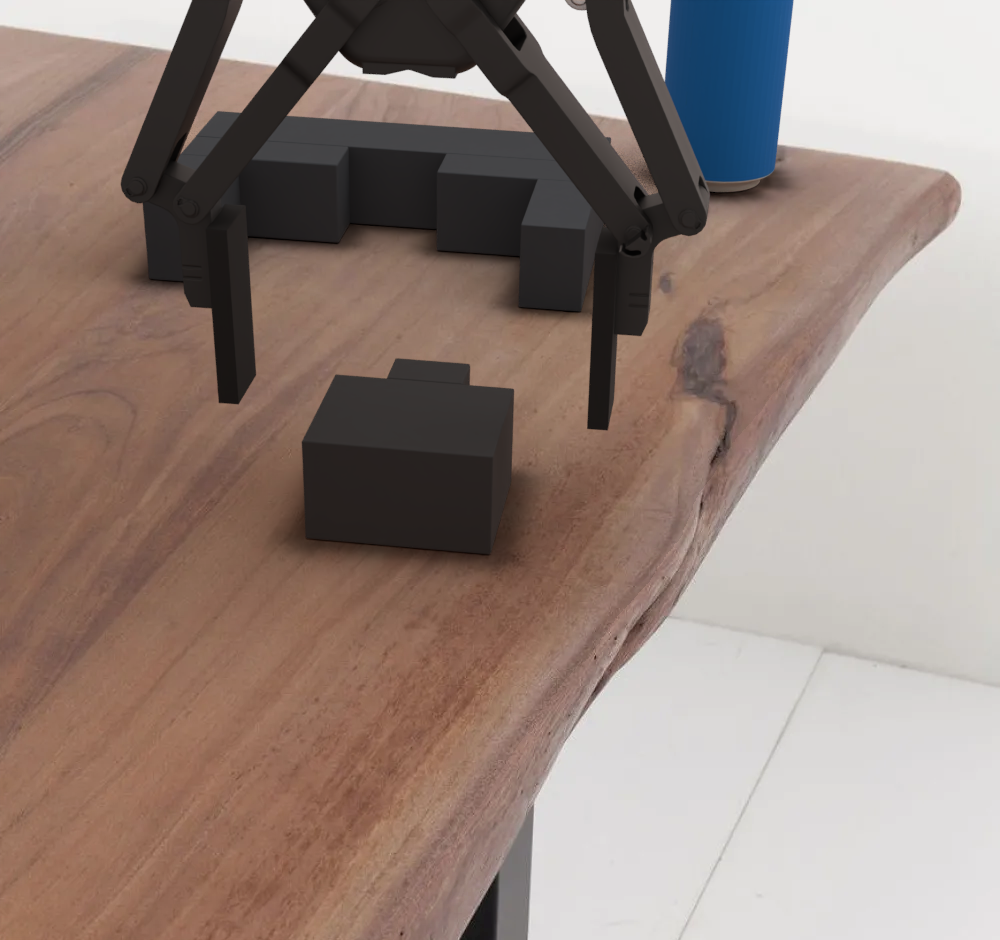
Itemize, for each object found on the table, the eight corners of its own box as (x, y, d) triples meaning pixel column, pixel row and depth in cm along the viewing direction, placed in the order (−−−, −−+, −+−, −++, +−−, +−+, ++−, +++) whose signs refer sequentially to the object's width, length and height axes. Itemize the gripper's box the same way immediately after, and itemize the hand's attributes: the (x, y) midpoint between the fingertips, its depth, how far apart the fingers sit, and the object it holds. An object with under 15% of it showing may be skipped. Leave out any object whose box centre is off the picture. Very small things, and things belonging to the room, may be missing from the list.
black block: (305, 538, 70) (301, 441, 68) (347, 445, 77) (345, 353, 74) (490, 555, 70) (493, 456, 67) (517, 459, 76) (520, 367, 74)
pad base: (148, 279, 91) (141, 197, 89) (221, 185, 102) (217, 110, 100) (581, 311, 89) (585, 229, 87) (606, 212, 100) (611, 137, 98)
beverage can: (746, 156, 109) (769, -67, 102) (791, 192, 104) (819, -39, 97) (641, 163, 107) (657, -63, 100) (681, 200, 102) (701, -34, 95)
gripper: (-28, -244, 56) (58, 420, 68) (823, -213, 53) (754, 470, 65) (55, -274, 62) (120, 340, 74) (821, -248, 59) (758, 383, 71)
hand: (417, 402), depth 70 cm, fingers open, 13 cm apart
